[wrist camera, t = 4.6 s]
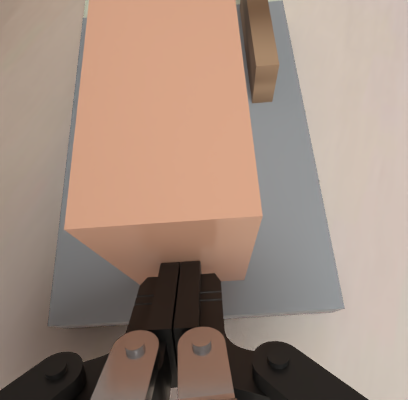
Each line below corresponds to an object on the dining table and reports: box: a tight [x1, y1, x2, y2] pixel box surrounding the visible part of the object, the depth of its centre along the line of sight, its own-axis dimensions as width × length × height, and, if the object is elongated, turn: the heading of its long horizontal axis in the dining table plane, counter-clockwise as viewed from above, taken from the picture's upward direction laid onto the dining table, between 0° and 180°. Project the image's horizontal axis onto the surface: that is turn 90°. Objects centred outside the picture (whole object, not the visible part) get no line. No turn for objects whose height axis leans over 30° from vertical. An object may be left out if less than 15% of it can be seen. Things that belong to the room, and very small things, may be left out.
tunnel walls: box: [240, 0, 279, 103], centre depth 21 cm, size 8×10×3 cm
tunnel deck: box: [48, 0, 345, 328], centre depth 21 cm, size 20×14×2 cm
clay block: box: [64, 0, 263, 285], centre depth 15 cm, size 9×5×9 cm, turn 3°
